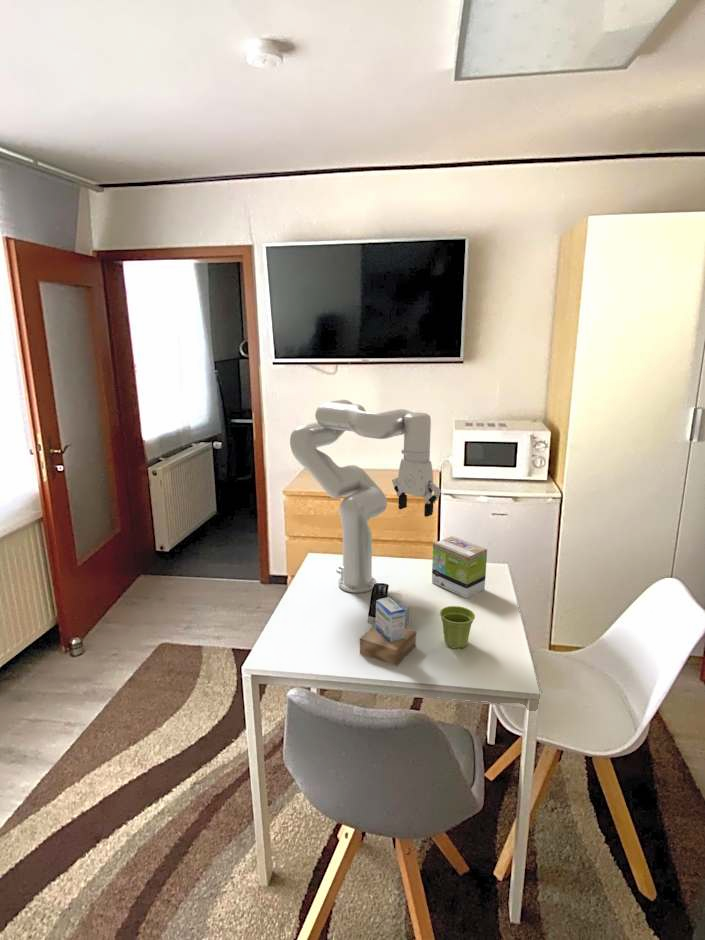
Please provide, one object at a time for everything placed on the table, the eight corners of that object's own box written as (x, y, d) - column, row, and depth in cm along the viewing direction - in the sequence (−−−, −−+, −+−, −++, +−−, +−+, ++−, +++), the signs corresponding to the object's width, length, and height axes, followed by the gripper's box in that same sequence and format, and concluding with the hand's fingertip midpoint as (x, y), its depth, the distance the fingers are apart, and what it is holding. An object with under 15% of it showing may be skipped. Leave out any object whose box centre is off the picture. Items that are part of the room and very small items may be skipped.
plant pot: (446, 630, 163) (447, 602, 161) (478, 639, 158) (479, 610, 156) (433, 646, 155) (434, 617, 153) (466, 655, 151) (467, 626, 149)
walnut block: (359, 654, 152) (359, 638, 151) (380, 636, 161) (380, 620, 160) (396, 667, 146) (396, 650, 145) (415, 647, 155) (416, 630, 154)
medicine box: (375, 629, 155) (375, 599, 153) (389, 624, 157) (389, 596, 155) (390, 643, 148) (391, 612, 146) (404, 638, 151) (405, 608, 148)
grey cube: (386, 625, 166) (386, 609, 165) (393, 617, 170) (394, 602, 169) (402, 629, 164) (402, 613, 162) (409, 621, 168) (409, 606, 167)
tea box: (430, 583, 192) (431, 542, 189) (450, 575, 199) (451, 535, 195) (466, 599, 181) (468, 556, 177) (485, 590, 187) (488, 547, 184)
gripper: (385, 453, 169) (385, 508, 174) (433, 462, 158) (431, 521, 162) (401, 449, 175) (400, 502, 179) (449, 458, 163) (446, 515, 167)
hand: (415, 511), depth 170 cm, fingers open, 9 cm apart
